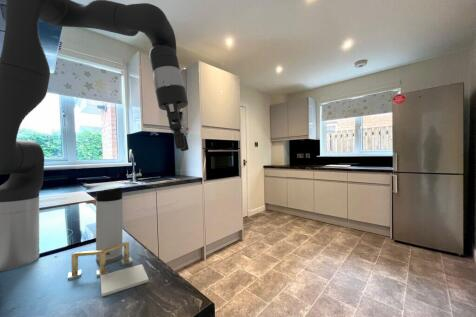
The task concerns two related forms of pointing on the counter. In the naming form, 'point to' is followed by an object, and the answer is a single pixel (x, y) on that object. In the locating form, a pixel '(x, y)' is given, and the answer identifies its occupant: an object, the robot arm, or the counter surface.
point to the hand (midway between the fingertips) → (183, 149)
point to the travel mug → (109, 223)
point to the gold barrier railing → (102, 253)
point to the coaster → (123, 279)
